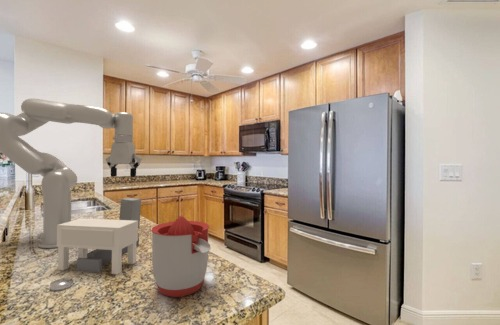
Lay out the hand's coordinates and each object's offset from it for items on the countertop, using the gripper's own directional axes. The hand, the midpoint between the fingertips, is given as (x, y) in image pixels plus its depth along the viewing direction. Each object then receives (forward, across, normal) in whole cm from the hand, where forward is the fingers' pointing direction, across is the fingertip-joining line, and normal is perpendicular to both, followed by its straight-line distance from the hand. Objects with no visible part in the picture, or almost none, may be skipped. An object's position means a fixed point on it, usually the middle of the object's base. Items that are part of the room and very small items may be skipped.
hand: (123, 176), depth 116 cm
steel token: (+28, +12, -44) cm, 54 cm away
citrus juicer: (+28, +46, -40) cm, 67 cm away
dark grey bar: (+28, +12, -22) cm, 38 cm away
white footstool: (+28, +12, -30) cm, 43 cm away
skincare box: (+28, -7, +16) cm, 33 cm away
